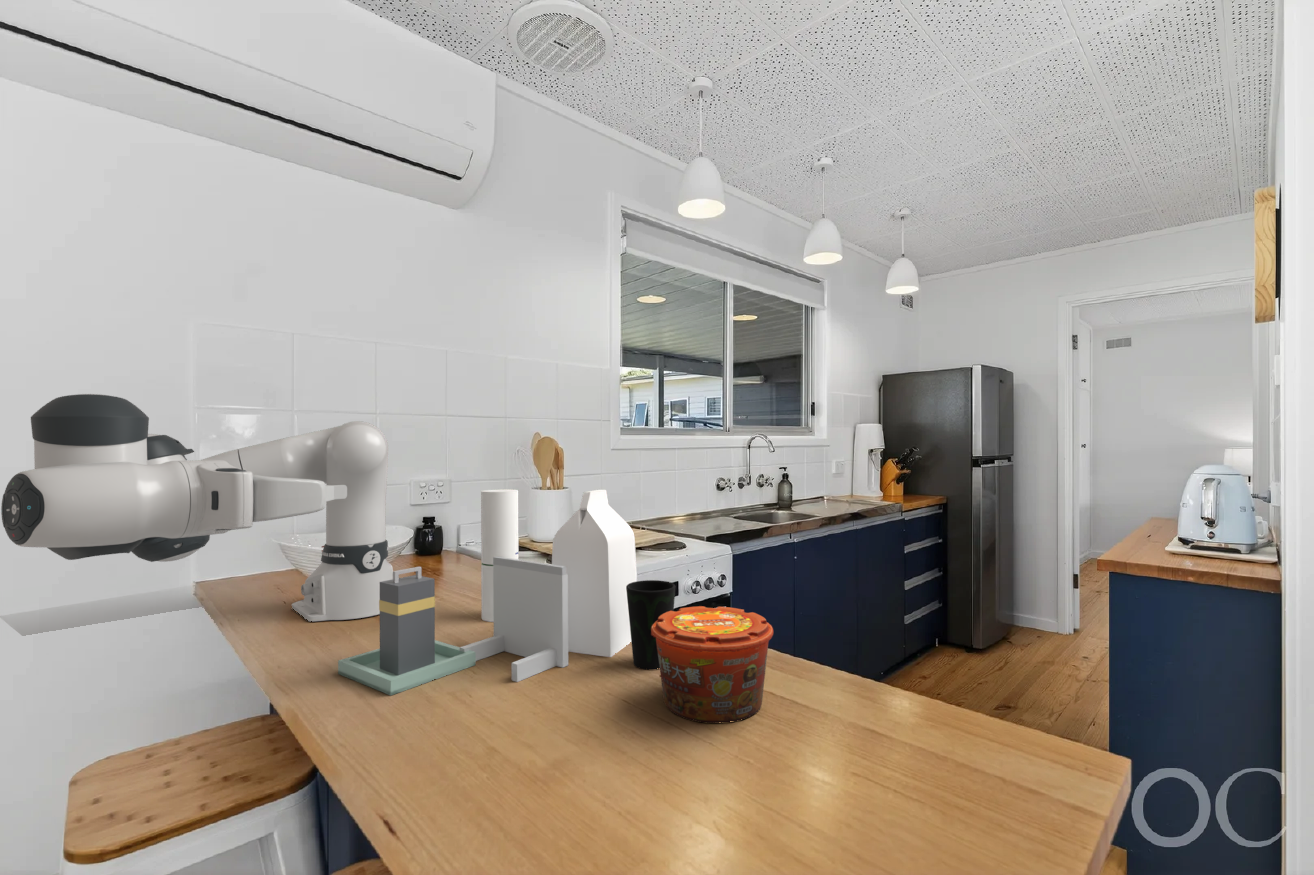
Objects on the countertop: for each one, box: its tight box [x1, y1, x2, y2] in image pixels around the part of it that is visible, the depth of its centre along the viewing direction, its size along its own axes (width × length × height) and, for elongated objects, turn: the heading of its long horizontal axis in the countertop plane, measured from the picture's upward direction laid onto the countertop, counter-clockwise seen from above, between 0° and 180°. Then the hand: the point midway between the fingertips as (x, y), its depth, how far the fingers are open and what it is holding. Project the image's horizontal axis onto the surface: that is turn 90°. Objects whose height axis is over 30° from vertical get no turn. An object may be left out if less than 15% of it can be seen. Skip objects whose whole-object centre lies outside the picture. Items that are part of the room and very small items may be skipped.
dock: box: [460, 556, 569, 683], centre depth 95 cm, size 16×9×15 cm, turn 54°
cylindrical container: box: [480, 488, 519, 623], centre depth 121 cm, size 7×7×25 cm
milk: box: [551, 489, 638, 658], centre depth 105 cm, size 12×12×26 cm
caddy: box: [379, 566, 436, 675], centre depth 93 cm, size 5×6×15 cm
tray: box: [337, 639, 477, 696], centre depth 93 cm, size 14×14×2 cm
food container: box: [651, 605, 774, 724], centre depth 80 cm, size 16×16×11 cm
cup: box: [626, 579, 676, 671], centre depth 95 cm, size 8×8×12 cm
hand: (326, 490), depth 83 cm, fingers open, 8 cm apart
